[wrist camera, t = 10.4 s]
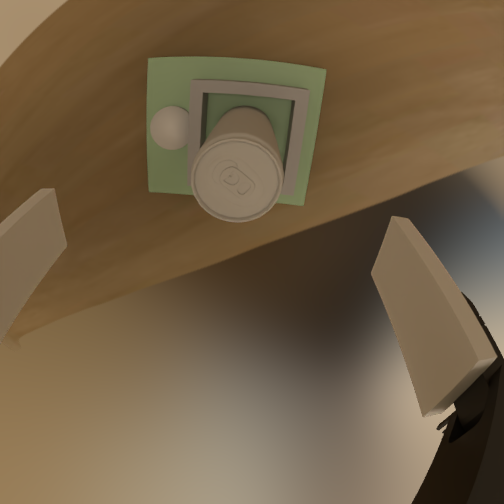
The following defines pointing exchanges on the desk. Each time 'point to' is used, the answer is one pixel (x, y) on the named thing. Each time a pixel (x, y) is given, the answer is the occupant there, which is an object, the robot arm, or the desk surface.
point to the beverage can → (238, 167)
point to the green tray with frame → (218, 103)
